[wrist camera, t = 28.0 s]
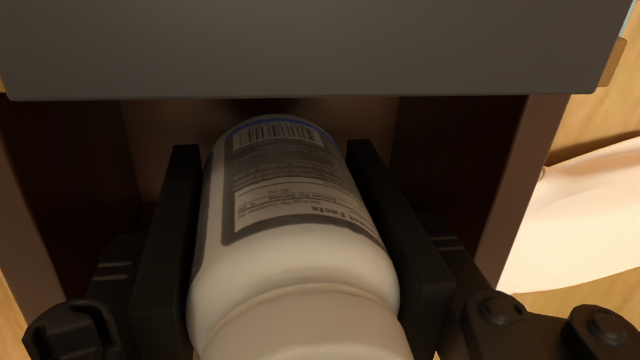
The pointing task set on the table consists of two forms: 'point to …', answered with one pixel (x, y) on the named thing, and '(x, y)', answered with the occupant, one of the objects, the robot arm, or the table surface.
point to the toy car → (579, 222)
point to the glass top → (306, 48)
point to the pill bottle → (288, 253)
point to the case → (206, 128)
